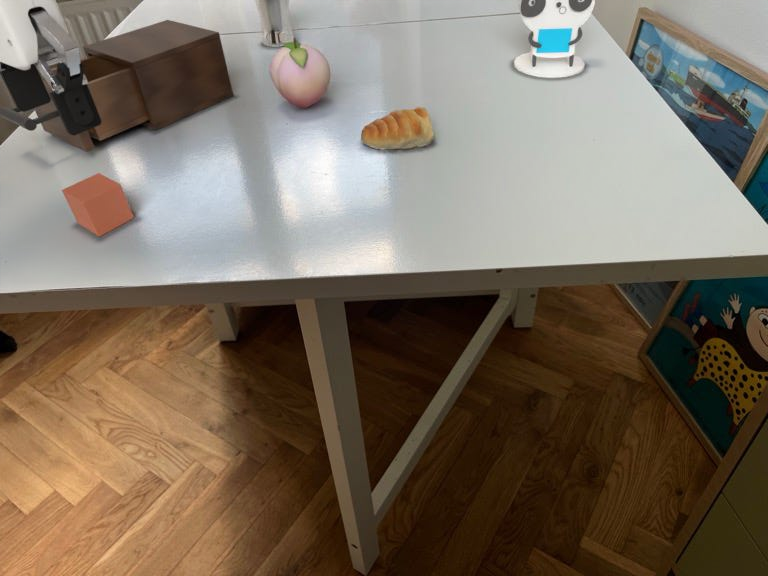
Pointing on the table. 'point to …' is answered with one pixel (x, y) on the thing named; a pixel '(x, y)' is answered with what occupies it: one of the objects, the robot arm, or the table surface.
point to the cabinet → (171, 68)
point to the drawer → (111, 97)
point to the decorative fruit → (300, 73)
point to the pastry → (399, 130)
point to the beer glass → (275, 22)
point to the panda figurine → (553, 36)
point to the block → (98, 204)
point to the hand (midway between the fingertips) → (59, 117)
